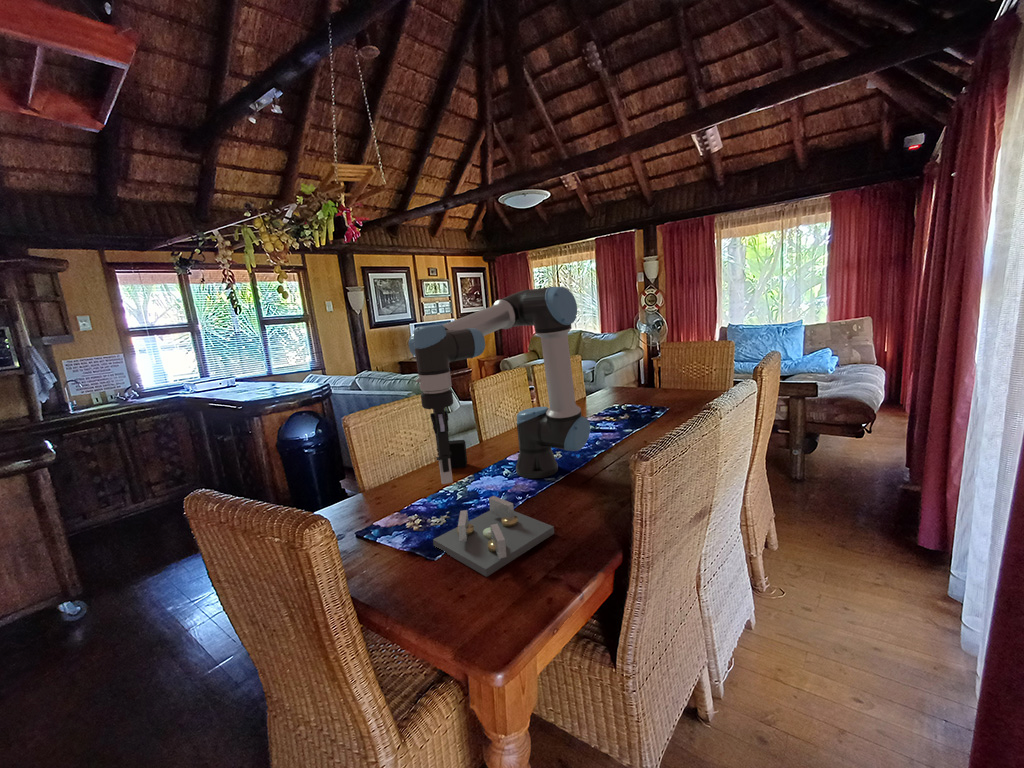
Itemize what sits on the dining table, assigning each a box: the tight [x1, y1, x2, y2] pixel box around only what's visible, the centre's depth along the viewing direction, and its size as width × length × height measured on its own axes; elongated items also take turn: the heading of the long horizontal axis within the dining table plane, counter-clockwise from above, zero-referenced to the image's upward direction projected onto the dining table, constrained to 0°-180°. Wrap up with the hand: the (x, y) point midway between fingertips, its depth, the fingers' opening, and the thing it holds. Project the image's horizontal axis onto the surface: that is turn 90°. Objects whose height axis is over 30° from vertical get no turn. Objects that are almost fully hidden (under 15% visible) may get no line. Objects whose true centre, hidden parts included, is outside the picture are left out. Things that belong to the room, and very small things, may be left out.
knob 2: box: [488, 495, 518, 527], centre depth 122 cm, size 9×4×6 cm, turn 43°
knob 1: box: [456, 509, 474, 542], centre depth 115 cm, size 9×4×6 cm, turn 2°
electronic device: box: [449, 439, 468, 470], centre depth 173 cm, size 4×10×10 cm, turn 89°
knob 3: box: [487, 524, 507, 559], centre depth 107 cm, size 9×4×6 cm, turn 14°
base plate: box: [432, 510, 555, 578], centre depth 117 cm, size 24×21×3 cm
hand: (447, 482), depth 111 cm, fingers closed
